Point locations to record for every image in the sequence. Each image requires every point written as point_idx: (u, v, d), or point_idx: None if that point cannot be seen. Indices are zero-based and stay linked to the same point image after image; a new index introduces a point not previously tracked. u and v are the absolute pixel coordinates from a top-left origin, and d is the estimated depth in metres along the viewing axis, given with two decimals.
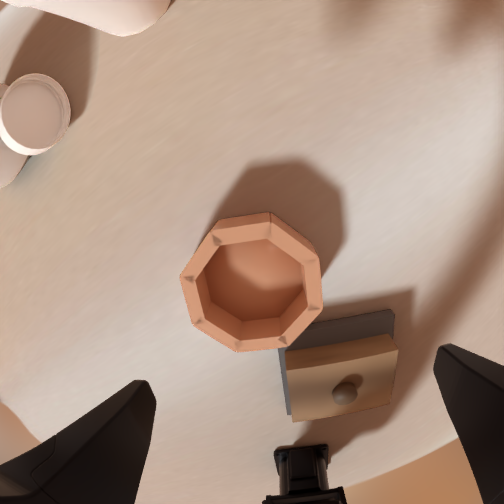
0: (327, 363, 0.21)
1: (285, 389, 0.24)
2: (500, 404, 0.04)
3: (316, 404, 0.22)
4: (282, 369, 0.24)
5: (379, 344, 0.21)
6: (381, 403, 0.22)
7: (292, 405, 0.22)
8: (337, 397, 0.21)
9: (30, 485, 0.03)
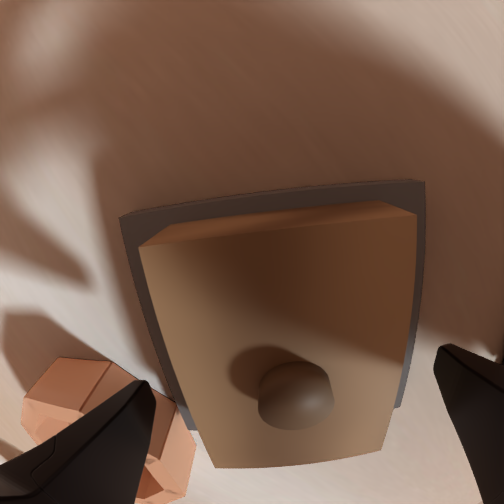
0: (194, 419, 0.08)
1: None
2: (500, 404, 0.04)
3: (333, 429, 0.08)
4: None
5: None
6: (403, 251, 0.06)
7: (321, 460, 0.09)
8: (293, 423, 0.07)
9: (30, 485, 0.03)
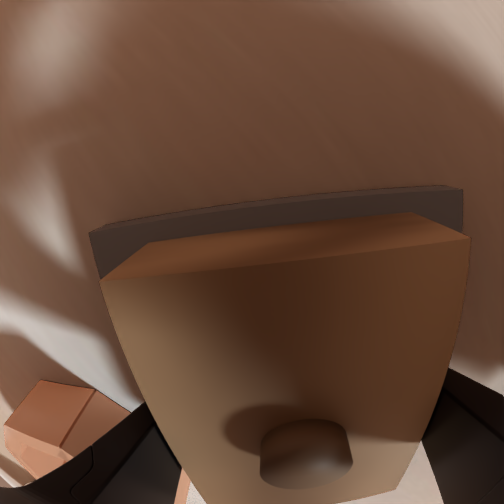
0: (185, 469, 0.06)
1: None
2: (463, 422, 0.04)
3: (346, 477, 0.06)
4: None
5: None
6: (452, 285, 0.04)
7: (330, 502, 0.07)
8: (302, 484, 0.05)
9: None
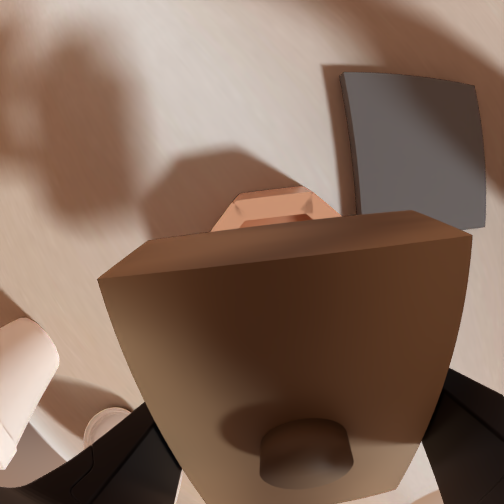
0: (184, 468, 0.06)
1: None
2: (463, 422, 0.04)
3: (346, 478, 0.06)
4: None
5: None
6: (453, 283, 0.04)
7: (330, 502, 0.07)
8: (302, 484, 0.05)
9: None
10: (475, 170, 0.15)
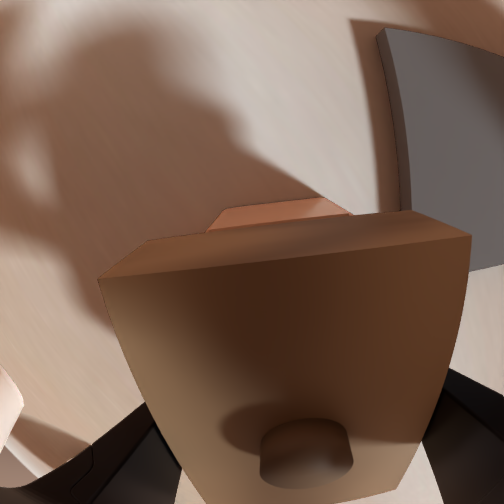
0: (185, 468, 0.06)
1: None
2: (463, 422, 0.04)
3: (346, 477, 0.06)
4: (476, 267, 0.10)
5: None
6: (453, 283, 0.04)
7: (330, 502, 0.07)
8: (302, 484, 0.05)
9: None
10: None
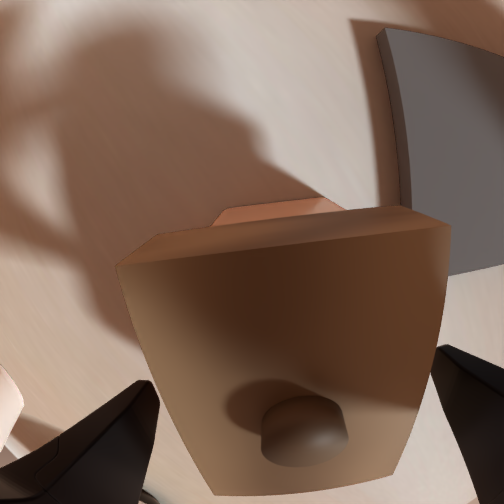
0: (190, 450, 0.07)
1: None
2: (496, 406, 0.04)
3: (343, 459, 0.07)
4: (476, 267, 0.10)
5: None
6: (435, 268, 0.05)
7: (329, 487, 0.07)
8: (301, 461, 0.06)
9: (34, 488, 0.03)
10: None
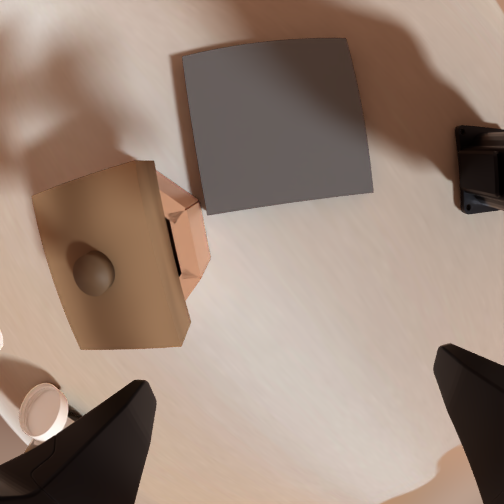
0: (61, 300, 0.13)
1: (313, 196, 0.17)
2: (500, 404, 0.04)
3: (131, 311, 0.13)
4: (270, 203, 0.17)
5: None
6: (130, 181, 0.12)
7: (138, 346, 0.14)
8: (92, 290, 0.12)
9: (30, 485, 0.03)
10: (349, 128, 0.15)
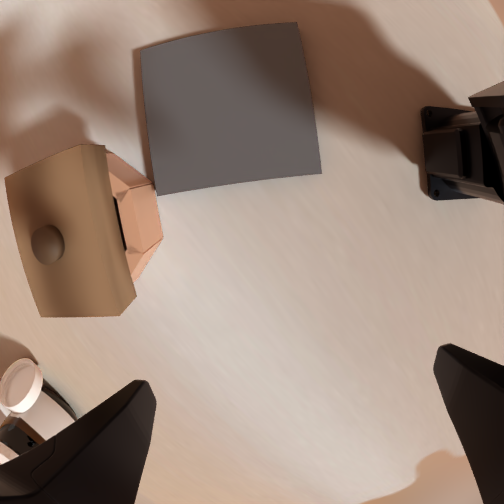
0: (25, 270, 0.14)
1: (257, 177, 0.17)
2: (500, 404, 0.04)
3: (78, 280, 0.14)
4: (214, 184, 0.17)
5: None
6: (77, 162, 0.12)
7: (85, 314, 0.14)
8: (45, 259, 0.13)
9: (30, 485, 0.03)
10: (295, 109, 0.15)
